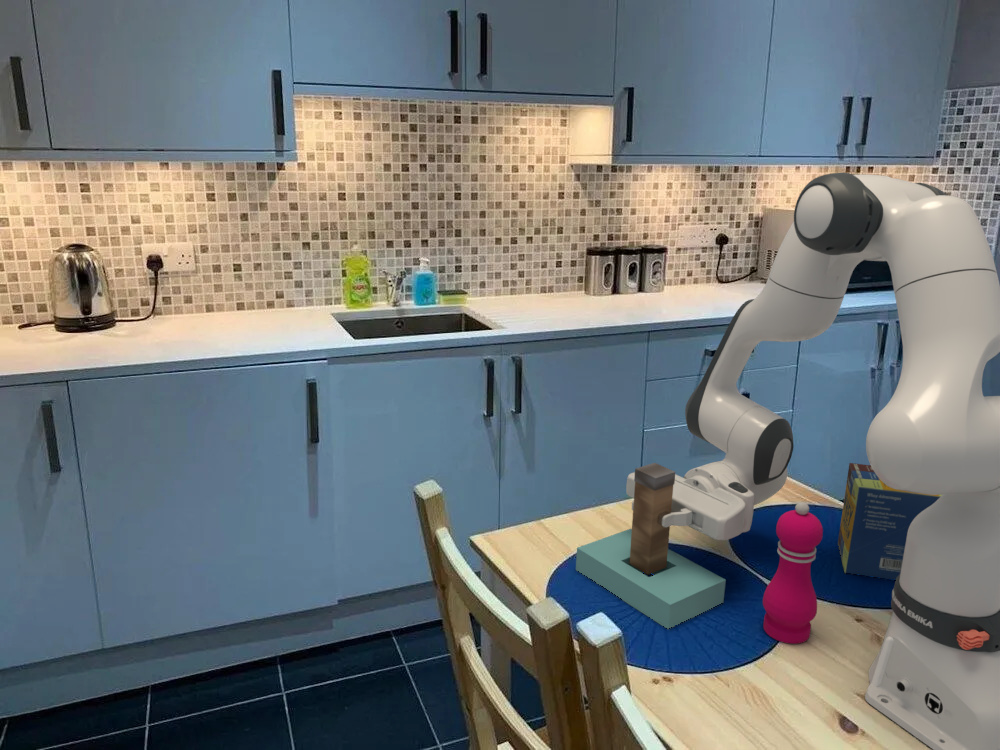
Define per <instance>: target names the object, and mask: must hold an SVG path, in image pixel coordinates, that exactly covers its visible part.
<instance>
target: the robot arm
mask: <svg viewBox="0 0 1000 750" xmlns="http://www.w3.org/2000/svg"><path fill="white" fill-rule="evenodd" d="M793 212H794V213H793V222H792V223H791V225H790V227H789V228H788V230H787V232H786V234H785V236H784V238H783V239H782V241H781V244H780V246H779V248H778V251H777V253H776V255H775V258H774V261H773V263H772V264H771V265H772V266H771V268H770V272H769V274H768V278H767V281H766V283H765V285H764V287H763V288H762V289H761V291H760V293H758V295H757V296H756V297H755V298H751V299H748V300H746V301H745V302H743V303H742V304H741V305H740V307H739V308H738V309H737V310H736V312H735V314H734V315H733V316H732V318H731V320H730V321H729V322H730V323H729V324H728V326H727V328H726V329H725V332H724V334H723V336H722V337H721V340H720V342H719V344H718V346H717V348H716V350H715V352H714V354H713V357H712V358H711V360H710V362H709V365H708V367H707V369H706V370H705V373H704V375H703V377H702V378H701V380H700V382H699V384H698V385H697V386H696V388H695V389H694V391H693V392H692V394H691V395H690V396H689V398H688V400H687V402H686V405H685V412H684V415H685V423H686V426H687V429H688V432H690V434H692V435H693V436H695V437H697V438H699V439H700V440H702V441H705V442H706V443H709V444H711V445H713V446H715V447H716V448H717V449H719V450H721V451H723V452H724V453H725V457H724V458H723V459H722V460H720V461H719V460H718V461H714V462H710V463H706V464H703V465H700V466H697V467H694V468H691V469H689V470H688V471H687V472H686V473H685V474H684V476H680V475H678V474H677V473H675V483H674V485H673V495H672V507H671V513H669V512H667V511H665V512H663V513H660V514H659V515H658V521H657V523H658V524H660V525H662V526H663V527H665V528H666V527H669V526H670V527H671V526H673V527H675V526H676V527H677V526H678V527H689V528H692V529H694V530H695V531H698V532H699V533H700V534H703V535H705V536H707V537H709V538H710V539H713V540H715V541H728V540H730V539H734V538H735V537H738V536H739V535H741V534H742V533H747V532H749V531H751V526H752V522H753V517H754V516H753V515H754V507H755V506H756V505H758V504H760V503H761V504H762V503H763V502H765V501H766V500H768V499H770V498H772V497H773V496H775V494H777V493H778V492H779V491H781V490H782V488H783V487H784V486H785V484H786V481H787V479H788V465H789V463H790V461H791V460H792V459H791V458H792V455H793V452H794V434H793V430H792V427H791V424H790V422H789V421H788V420H787V419H785V418H784V417H782V416H780V415H779V414H777V413H775V412H774V411H772V410H771V409H769V408H767V407H765V406H763V405H761V404H759V403H757V402H755V401H754V400H752V399H750V398H748V397H746V396H745V395H743V394H741V393H740V391H739V389H738V386H737V382H738V380H739V378H740V376H741V374H742V373H743V370H744V368H745V366H746V364H747V362H748V360H749V358H750V356H751V355H752V353H753V350H755V348H756V346H758V345H759V344H760V343H762V342H780V343H793V342H802V341H807V340H810V339H815V338H817V337H818V336H820V335H821V334H823V333H825V332H826V331H827V330H828V329H829V328H830V327H831V326H832V325H833V323H834V321H835V319H836V317H837V315H838V314H839V311H840V308H841V307H842V303H843V301H844V298H845V295H846V292H847V289H848V286H849V282H850V279H851V277H852V275H853V271H854V270H855V268H856V267H857V265H859V264H860V263H861V262H863V261H868V262H869V261H870V262H873V261H874V262H887V264H888V266H889V271H890V274H891V281H892V287H893V292H894V293H893V294H894V298H895V303H896V308H897V314H898V320H899V327H900V335H901V342H902V364H901V366H902V368H901V371H900V376H899V380H898V382H897V383H898V384H897V386H896V388H895V391H894V392H893V395H892V397H891V398H890V400H889V401H888V402H887V403H886V405H885V406H884V407H883V408H882V409H881V410H880V411H879V412H878V413H877V414H876V415H875V417H874V418H873V419H872V421H871V423H870V425H869V428H868V430H867V434H866V439H865V451H866V456H867V459H868V462H869V465H871V467H872V469H873V470H874V472H875V474H876V475H877V476H878V477H879V479H880V480H881V481H882V482H883V483H884V484H886V485H887V486H889V487H891V488H893V489H897V490H902V491H908V492H914V493H922V494H929V495H941V494H942V496H941V497H940V498H939V499H938V500H937V501H936V502H935V503H933V504H932V505H931V506H929V507H928V508H926V509H925V510H923V511H922V512H921V513H919V514H918V515H917V516H916V517H915V518H914V520H913V521H912V522H911V524H910V526H909V529H908V533H907V538H906V544H905V550H904V555H903V561H902V567H901V573H900V575H898V576H897V578H896V581H895V582H894V586H893V589H892V591H891V601H890V607H891V610H892V613H891V617H890V621H889V623H888V627H887V629H886V633H885V634H884V638H883V641H882V643H881V646H880V649H879V651H878V653H877V655H876V657H875V659H874V660H873V662H872V664H871V665H870V667H869V669H868V679H869V685H868V687H867V688H866V690H865V695H864V698H865V701H866V702H867V703H868V704H870V705H871V706H872V707H873V708H875V709H876V710H878V712H881V713H882V714H883V715H884V716H886V717H887V718H888V719H890V720H892V722H894V723H896V724H897V725H898V726H900V727H901V728H903V729H904V730H906V731H907V732H908V733H909V734H911V735H913V736H914V737H915V738H917V739H918V740H920V741H921V742H922V743H924V744H925V745H927V747H930V749H931V750H1000V395H992V396H990V395H988V396H984V393H983V375H984V371H985V370H984V369H985V368H986V364H987V362H988V361H990V360H991V359H993V358H995V357H996V356H997V355H998V354H999V353H1000V281H999V276H998V272H997V268H996V263H995V259H994V257H993V256H994V255H993V253H992V250H991V247H990V244H989V242H988V239H987V236H986V233H985V231H984V229H983V226H982V224H981V222H980V219H979V217H978V216H977V214H976V211H975V210H974V208H973V207H972V206H971V204H970V203H969V202H967V201H966V200H965V199H963V198H960V197H958V196H955V195H954V196H953V195H948V194H947V193H946V192H944V191H943V190H942V189H940V188H938V187H936V186H933V185H931V184H928V183H925V182H912V181H909V180H908V181H907V180H904V179H898V178H892V177H891V176H888V175H882V174H879V175H878V174H866V173H865V174H862V173H861V174H859V173H858V174H856V173H855V174H852V173H849V172H843V171H842V172H834V173H828V174H827V173H826V174H823V175H820V176H817V177H814V178H813V179H812V180H810V181H809V182H808V183H807V184H806V185H805V186H804V187H803V188H802V190H801V192H800V193H799V196H798V197H797V200H796V203H795V207H794V211H793ZM634 478H635V471H634V472H631V473H629V474H628V476H627V478H626V479H627V480H626V486H625V487H626V491H625V492H626V495H627V496H629V497H630V498H633V500H632V502H631V510H632V511H633V506H634V491H635V481H634Z"/></svg>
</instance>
